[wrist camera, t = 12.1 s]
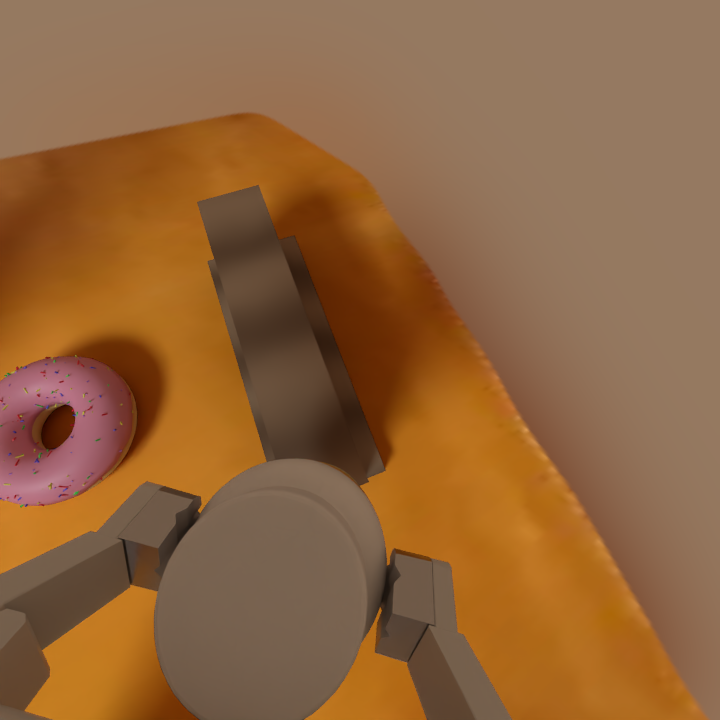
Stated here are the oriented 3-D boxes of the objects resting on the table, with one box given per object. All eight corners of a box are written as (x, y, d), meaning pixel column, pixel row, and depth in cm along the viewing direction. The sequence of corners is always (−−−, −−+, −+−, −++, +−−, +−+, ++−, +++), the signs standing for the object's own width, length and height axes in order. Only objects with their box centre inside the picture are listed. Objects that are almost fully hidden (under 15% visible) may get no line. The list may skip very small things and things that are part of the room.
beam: (383, 470, 28) (397, 469, 20) (285, 510, 26) (260, 526, 19) (296, 245, 34) (281, 178, 26) (213, 270, 32) (172, 208, 25)
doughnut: (173, 391, 29) (146, 378, 25) (97, 527, 26) (51, 537, 22) (60, 345, 30) (16, 326, 26) (-29, 471, 27) (-94, 471, 23)
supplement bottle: (320, 437, 17) (288, 399, 8) (395, 530, 16) (465, 617, 7) (226, 517, 16) (52, 588, 6) (300, 623, 15) (222, 891, 5)
